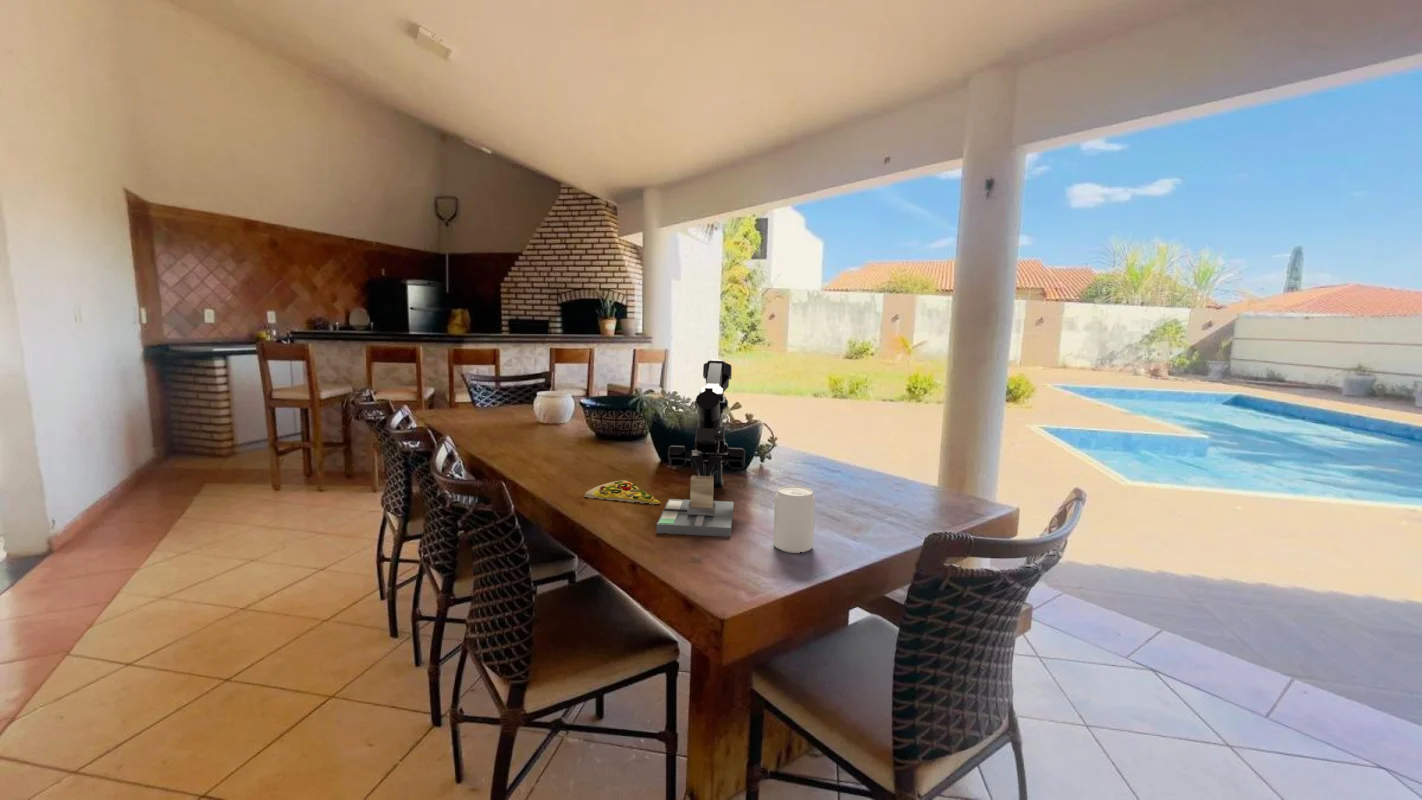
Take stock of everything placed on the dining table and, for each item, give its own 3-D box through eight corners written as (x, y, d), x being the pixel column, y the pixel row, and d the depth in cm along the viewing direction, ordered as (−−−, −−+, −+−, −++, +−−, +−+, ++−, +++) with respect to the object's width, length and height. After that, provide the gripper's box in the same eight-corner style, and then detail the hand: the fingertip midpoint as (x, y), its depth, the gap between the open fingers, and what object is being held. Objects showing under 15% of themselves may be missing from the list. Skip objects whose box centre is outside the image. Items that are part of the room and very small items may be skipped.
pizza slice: (622, 485, 161) (622, 475, 161) (679, 500, 149) (679, 489, 149) (580, 498, 149) (579, 487, 148) (638, 515, 137) (638, 503, 136)
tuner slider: (665, 507, 134) (666, 473, 133) (715, 509, 133) (716, 475, 132) (662, 514, 129) (662, 479, 128) (713, 516, 128) (714, 481, 127)
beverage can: (784, 536, 123) (786, 482, 122) (819, 545, 119) (822, 489, 117) (765, 548, 117) (767, 491, 115) (801, 558, 112) (804, 499, 111)
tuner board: (668, 506, 142) (669, 497, 141) (733, 509, 140) (733, 500, 140) (656, 533, 124) (656, 522, 124) (730, 536, 123) (730, 526, 122)
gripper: (669, 413, 139) (661, 468, 130) (745, 415, 138) (743, 472, 128) (673, 438, 148) (666, 492, 139) (745, 441, 147) (743, 495, 137)
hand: (704, 487), depth 135 cm, fingers closed
